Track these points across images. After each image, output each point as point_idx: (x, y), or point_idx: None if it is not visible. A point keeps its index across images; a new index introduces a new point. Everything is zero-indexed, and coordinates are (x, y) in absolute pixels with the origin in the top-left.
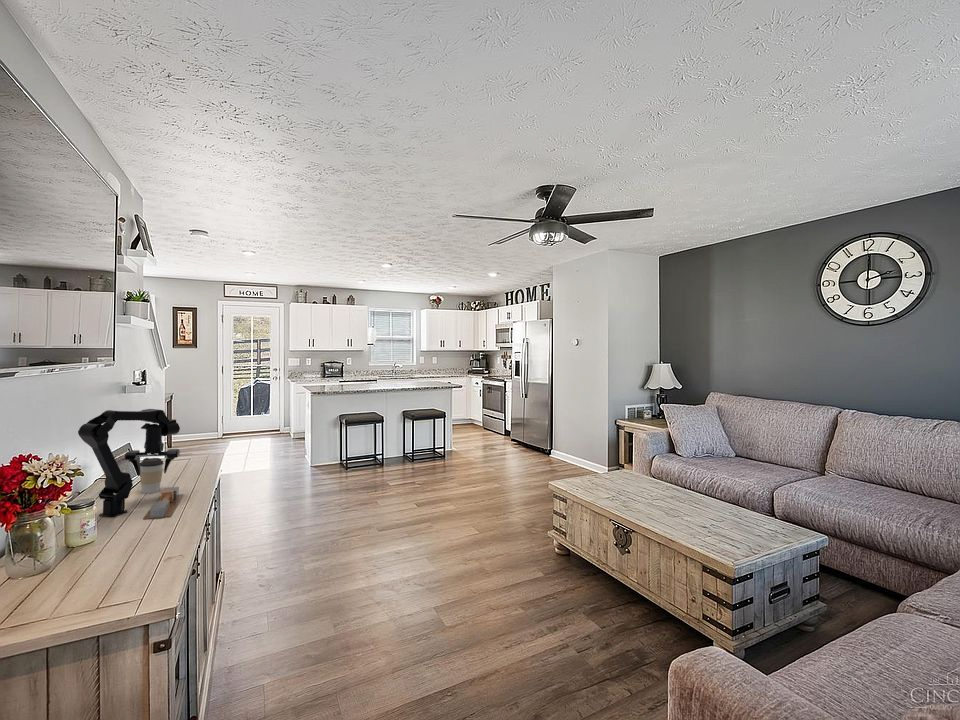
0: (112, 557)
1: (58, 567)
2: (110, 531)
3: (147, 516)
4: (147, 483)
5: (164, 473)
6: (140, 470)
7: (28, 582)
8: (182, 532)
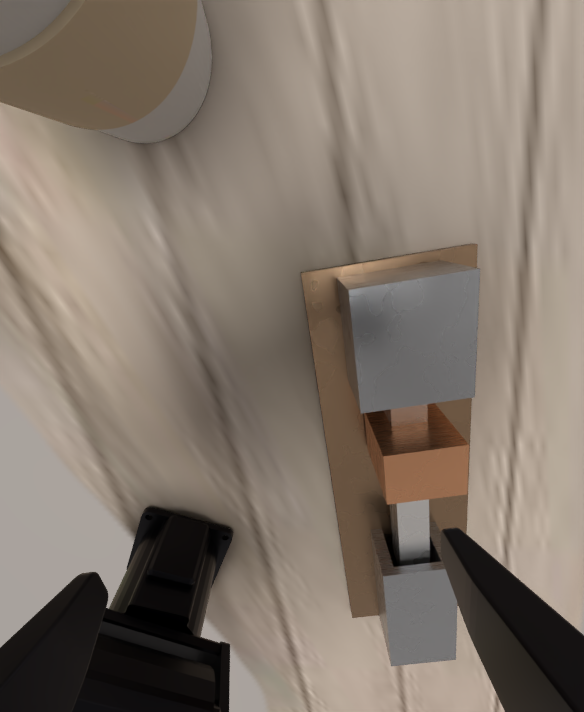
0: None
1: None
2: (281, 685)
3: (363, 604)
4: (96, 125)
5: (443, 552)
6: (53, 634)
7: None
8: None
